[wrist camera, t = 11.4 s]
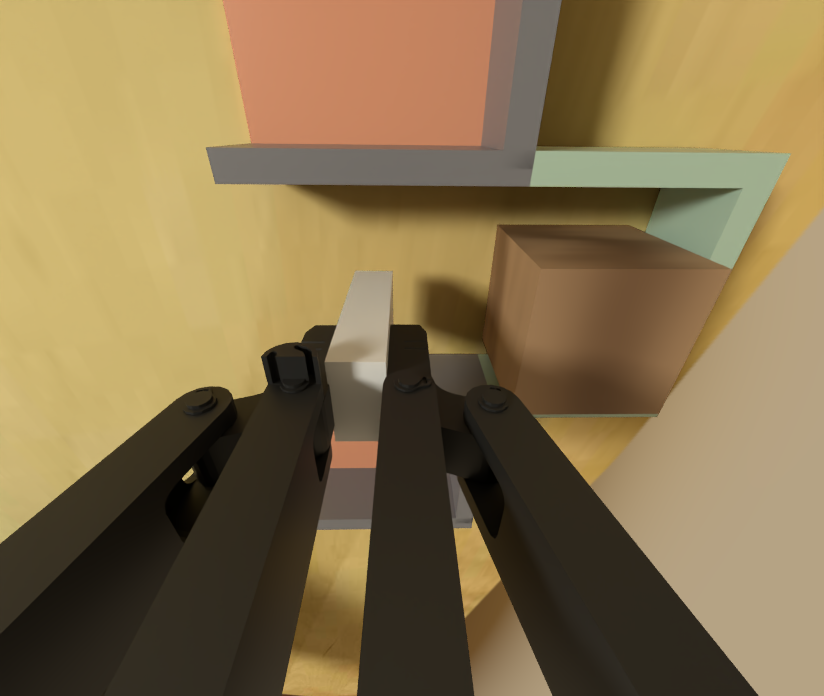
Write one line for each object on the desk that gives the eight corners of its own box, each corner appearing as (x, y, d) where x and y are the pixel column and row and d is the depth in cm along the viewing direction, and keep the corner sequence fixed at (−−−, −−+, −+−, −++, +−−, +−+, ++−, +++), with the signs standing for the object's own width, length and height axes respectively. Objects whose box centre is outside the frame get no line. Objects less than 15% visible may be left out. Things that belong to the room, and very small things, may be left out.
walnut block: (482, 338, 19) (510, 414, 14) (497, 224, 16) (540, 269, 11) (591, 338, 19) (658, 413, 14) (628, 224, 16) (732, 269, 11)
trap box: (319, 474, 25) (305, 529, 21) (175, -256, 9) (42, -480, 6) (574, 472, 25) (601, 526, 21) (845, -233, 10) (1089, -433, 6)
